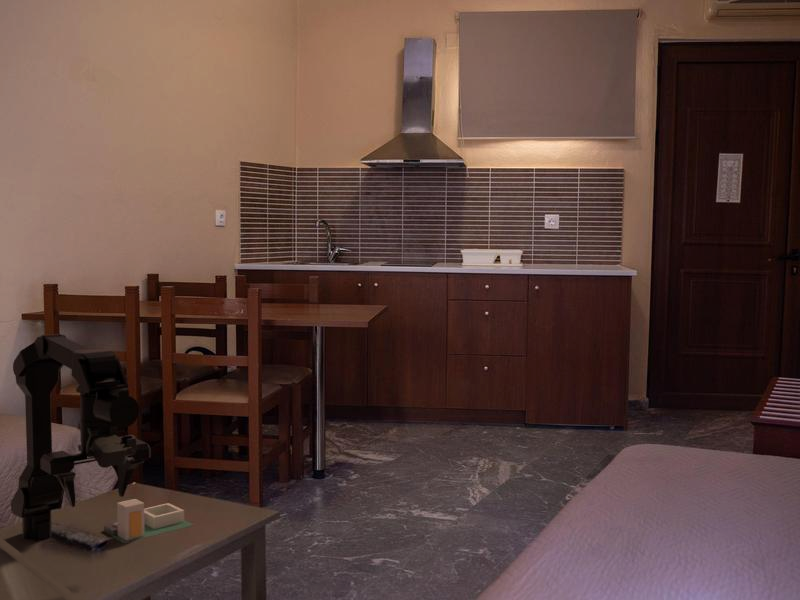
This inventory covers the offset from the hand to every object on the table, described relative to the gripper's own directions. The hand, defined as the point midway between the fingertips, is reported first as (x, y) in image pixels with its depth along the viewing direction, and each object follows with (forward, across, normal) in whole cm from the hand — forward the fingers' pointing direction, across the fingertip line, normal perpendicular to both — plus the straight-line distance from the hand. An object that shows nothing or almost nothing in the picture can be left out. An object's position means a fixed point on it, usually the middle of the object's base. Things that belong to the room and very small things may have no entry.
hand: (97, 501), depth 150 cm
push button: (+14, +12, +17) cm, 25 cm away
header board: (+14, +17, +14) cm, 26 cm away
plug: (+13, +12, +12) cm, 21 cm away
